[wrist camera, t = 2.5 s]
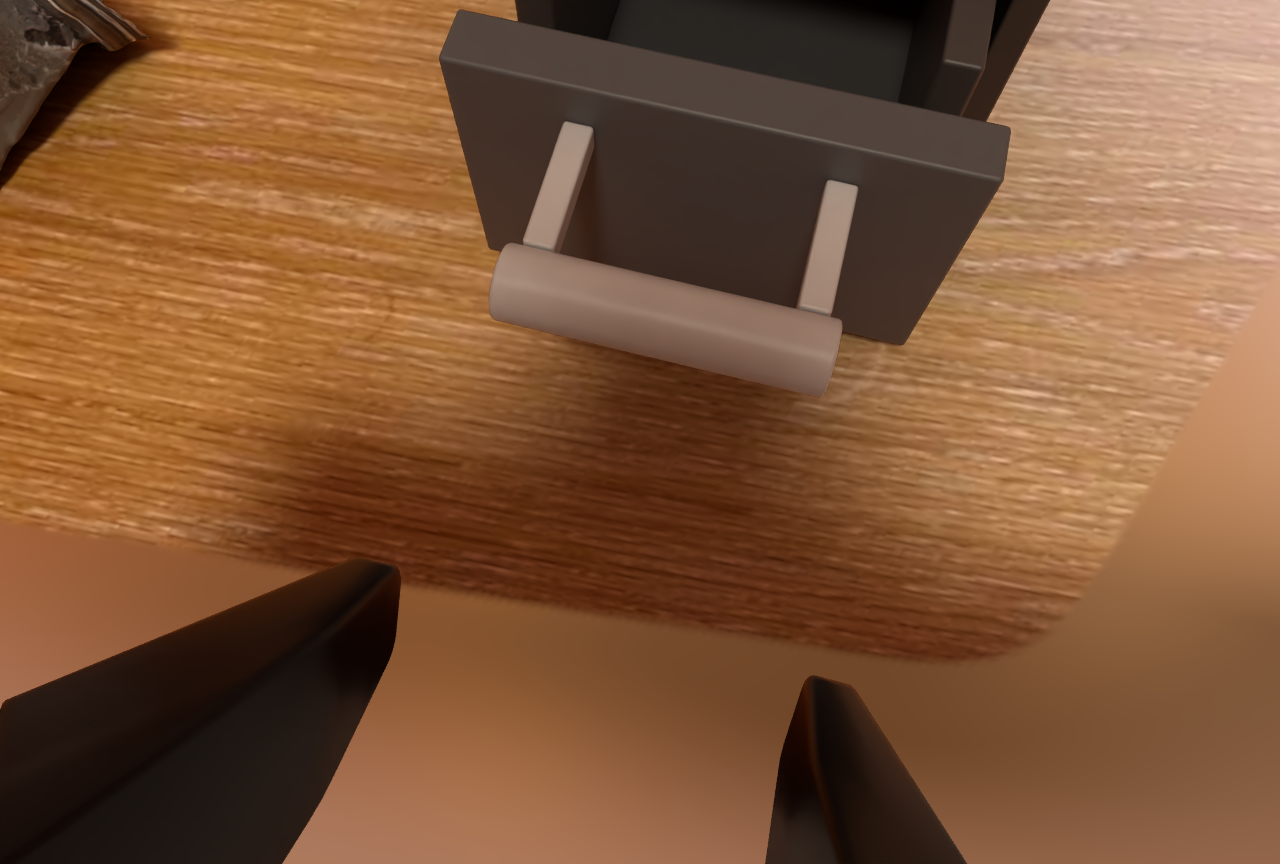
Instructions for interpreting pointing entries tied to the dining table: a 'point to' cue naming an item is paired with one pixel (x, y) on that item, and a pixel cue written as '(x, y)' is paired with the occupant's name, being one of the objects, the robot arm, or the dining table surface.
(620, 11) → the drawer
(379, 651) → the robot arm
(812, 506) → the dining table surface
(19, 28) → the chocolate cake
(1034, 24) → the dark brown hollow box
